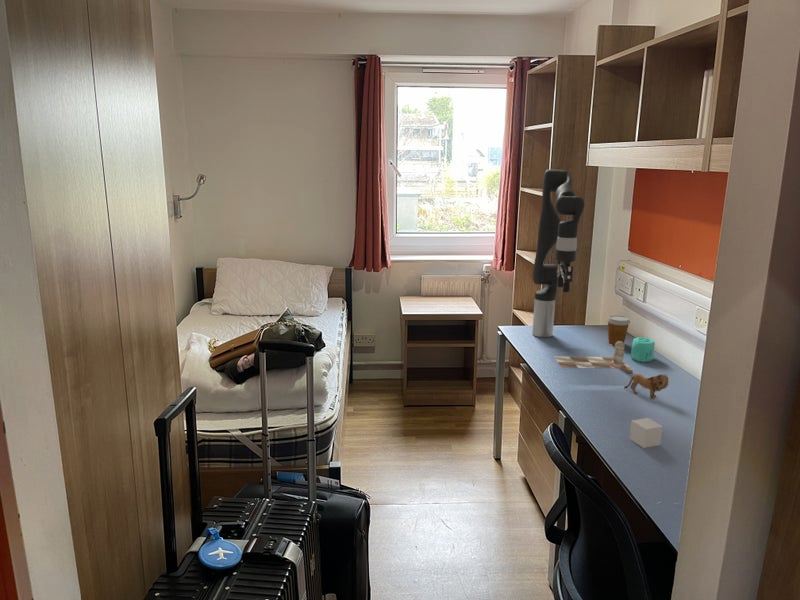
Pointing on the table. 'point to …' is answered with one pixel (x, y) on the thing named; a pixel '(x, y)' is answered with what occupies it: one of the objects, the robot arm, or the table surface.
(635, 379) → the lion figurine
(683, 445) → the table surface
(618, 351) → the pawn
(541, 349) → the table surface
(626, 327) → the disposable coffee cup
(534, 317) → the robot arm
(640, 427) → the beige cube
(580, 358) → the board
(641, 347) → the decorative dice
